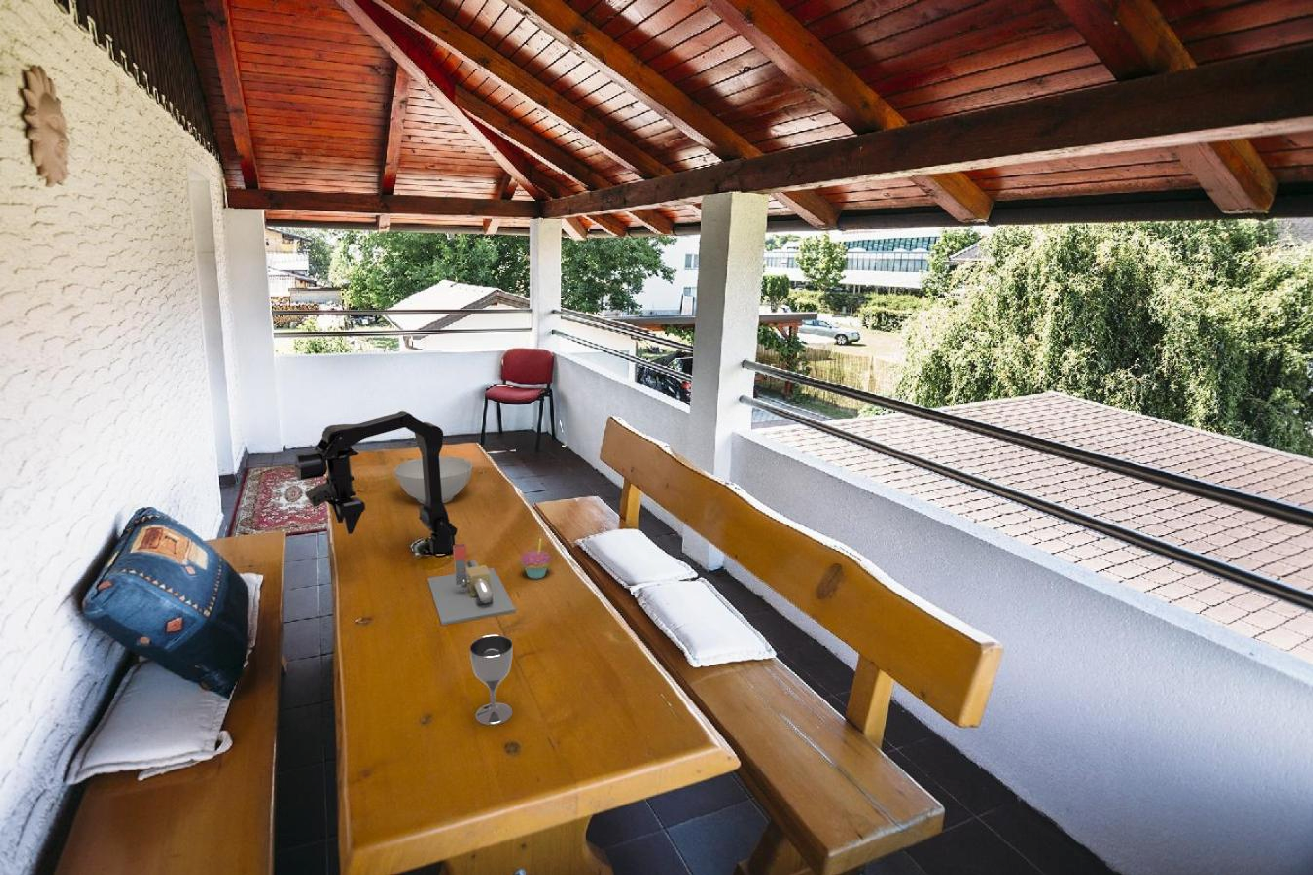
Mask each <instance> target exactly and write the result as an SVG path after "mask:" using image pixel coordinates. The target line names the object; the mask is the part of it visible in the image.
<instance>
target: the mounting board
mask: <svg viewBox="0 0 1313 875" xmlns="http://www.w3.org/2000/svg"><path fill="white" fill-rule="evenodd" d="M488 569H489V571H490V573H491V592H492V594H493V604H488V605H483V606H477V604H476V597H479V595H477V596H471V595H470V593H469V590H468V588H467V587H464V588H461V584H460V585H457V584H456V573H451V574H446V575H439V576H433V577H428V578H427V585H428V586H429V590H430V593H431V597H432V599H433V603H434V605H435V610H436V612H437V615H438V618H439V620H440V624H441V626H447V625H453V624H458V623H459V624H460V623H464V622H469V621H475V620H480V619H484V618H485V619H487V618H490V617H496V616H501V615H507V614H511V613H512V614H513V613H516V612H517V610H516V607H515V605H514V603H513V602H512V600H511V598H510V596H509V595H508V593H507V590H506V589H505V587H504V585H503V582H501V579H500V578H499V576H498V574H497V572H496V570H495V568H494V567H491V568H489V567H488ZM466 575H467V573H466ZM466 582H467V581H466Z"/></svg>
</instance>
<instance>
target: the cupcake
mask: <svg viewBox="0 0 1313 875" xmlns="http://www.w3.org/2000/svg"><path fill="white" fill-rule="evenodd" d="M537 546H538V547H537V550H536V549H532V550H528V551H526V552H525V553H523V554H522V555H521V557H520V560H519V564H520V566H521V567H522V568H524V570H525V572H526V575H527V577H528V578H530V579H534V580H535V579H537V580H538V579H542V578H543V577H545V575H546V572H547V570H548V567H549V566H550V565H551V562H552V557H551V556H550V554H549V553H547V551H544V550H542V549H541V547H542V537H540V538H539V540H538V545H537Z"/></svg>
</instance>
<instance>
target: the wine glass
mask: <svg viewBox="0 0 1313 875" xmlns="http://www.w3.org/2000/svg"><path fill="white" fill-rule="evenodd" d="M469 657H470V663H471V668H472V671H473V673H474V675H475V677H476V678H477V679H478V680H479V681H481V682H482V683H483V684H484V685H486V686H487V688H488V689H489V694H490V699H491V700H490V702H489V703H486V704H484V705H482V706H480V707H479V708H478V709H477V710H476V713H475V720H476V721H477V722H478V723H480V724H483V725H486V726H495V725H499V724H500V725H501V724H503V723H505V722H507V721H508V720H509V719H510V718H512V717H511V716H513V709H512V707H511V706H510V705H509V704H507V703H504V702H499V701H497V702H496V698H497V697H496V694H497V688H498V687H499V684H500V683H501V682H502V681H503V680H504V679H505V678H506V677H507V675H508V674H509V673H510V670H511V667H512V660H513V642H512V640H511V639H510V638H509V637H507V636H505V635H500V634H489V635H483V636H481V637H479V638H477V639H474V640H473V641H472V642H471V644H470V646H469Z"/></svg>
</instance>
